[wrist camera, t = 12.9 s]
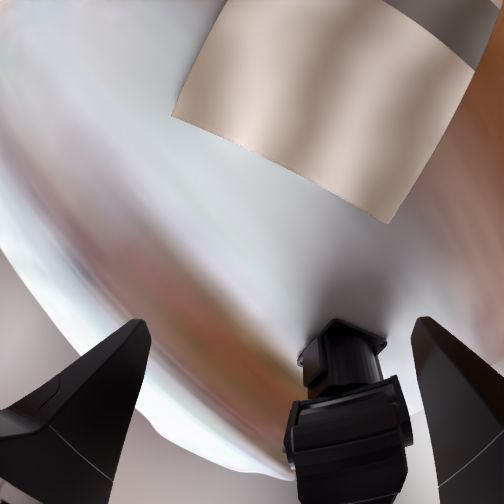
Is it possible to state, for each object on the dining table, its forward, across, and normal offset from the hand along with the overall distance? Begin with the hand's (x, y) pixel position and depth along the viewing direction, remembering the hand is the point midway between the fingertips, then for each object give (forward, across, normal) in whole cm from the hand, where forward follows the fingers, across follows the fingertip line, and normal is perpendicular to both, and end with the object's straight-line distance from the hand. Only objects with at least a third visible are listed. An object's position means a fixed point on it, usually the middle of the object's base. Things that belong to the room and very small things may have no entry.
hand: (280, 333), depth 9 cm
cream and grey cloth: (+13, -6, -12) cm, 19 cm away
